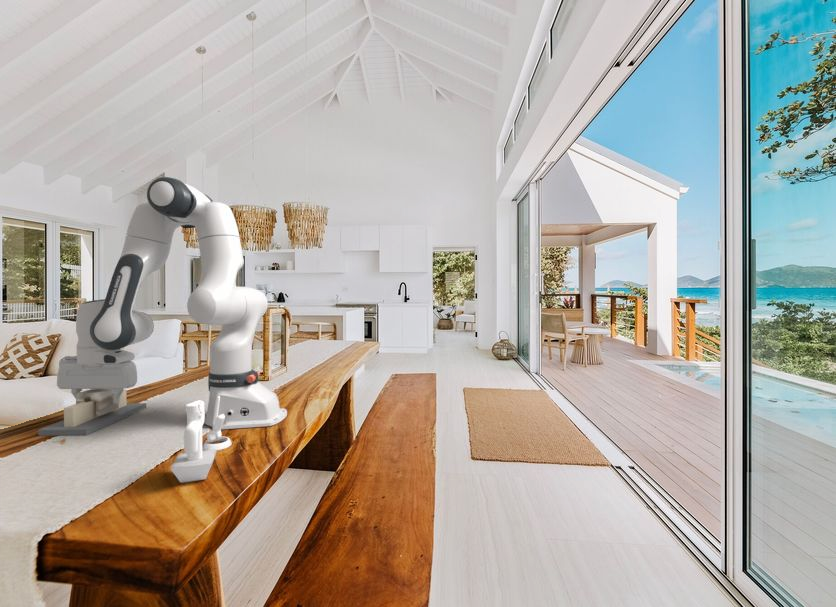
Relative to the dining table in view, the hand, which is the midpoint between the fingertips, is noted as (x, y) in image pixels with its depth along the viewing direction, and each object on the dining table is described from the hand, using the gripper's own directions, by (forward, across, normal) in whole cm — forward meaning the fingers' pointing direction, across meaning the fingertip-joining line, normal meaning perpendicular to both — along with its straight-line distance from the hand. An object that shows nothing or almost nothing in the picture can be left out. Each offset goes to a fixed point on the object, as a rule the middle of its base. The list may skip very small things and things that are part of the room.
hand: (98, 403), depth 113 cm
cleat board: (+5, 0, 0) cm, 5 cm away
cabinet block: (+2, 0, 0) cm, 2 cm away
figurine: (+5, +46, -36) cm, 58 cm away
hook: (+5, +43, -20) cm, 48 cm away
